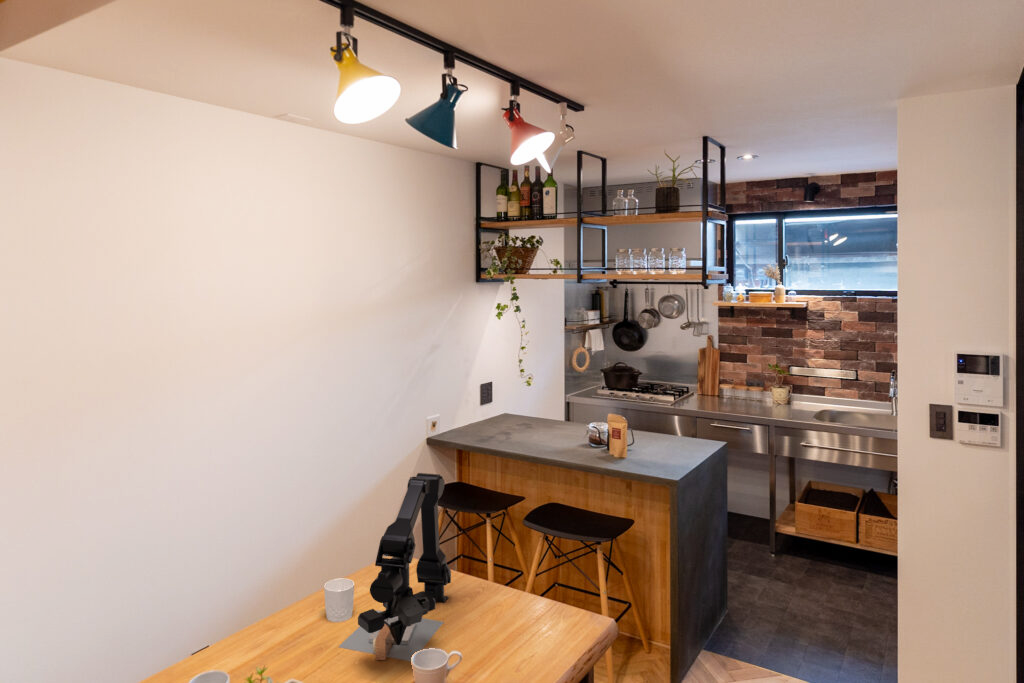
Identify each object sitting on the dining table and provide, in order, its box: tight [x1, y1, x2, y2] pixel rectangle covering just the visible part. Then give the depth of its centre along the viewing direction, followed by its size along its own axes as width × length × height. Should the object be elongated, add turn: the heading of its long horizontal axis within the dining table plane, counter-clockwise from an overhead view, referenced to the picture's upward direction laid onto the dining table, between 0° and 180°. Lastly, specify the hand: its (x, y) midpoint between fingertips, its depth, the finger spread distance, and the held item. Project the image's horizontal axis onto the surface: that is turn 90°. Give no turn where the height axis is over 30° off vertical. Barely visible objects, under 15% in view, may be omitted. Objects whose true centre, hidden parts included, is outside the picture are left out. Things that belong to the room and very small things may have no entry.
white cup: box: [323, 577, 355, 623], centre depth 184 cm, size 8×8×10 cm
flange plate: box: [369, 623, 416, 661], centre depth 172 cm, size 18×10×5 cm, turn 176°
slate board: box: [338, 609, 445, 662], centre depth 176 cm, size 20×20×4 cm
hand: (397, 644), depth 166 cm, fingers closed
